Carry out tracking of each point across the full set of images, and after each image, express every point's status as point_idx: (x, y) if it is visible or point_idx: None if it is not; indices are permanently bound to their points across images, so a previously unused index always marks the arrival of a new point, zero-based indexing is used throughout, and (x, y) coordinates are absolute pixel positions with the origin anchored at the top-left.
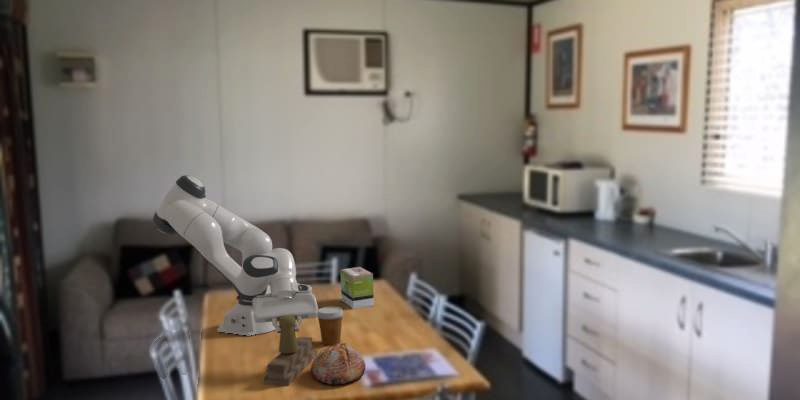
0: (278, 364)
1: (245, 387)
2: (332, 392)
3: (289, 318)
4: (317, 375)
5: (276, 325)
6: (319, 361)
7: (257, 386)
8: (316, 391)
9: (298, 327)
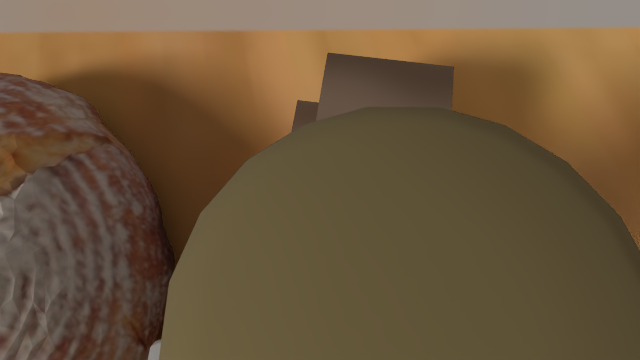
0: (371, 75)
1: (542, 95)
2: (57, 42)
3: (299, 158)
4: (118, 140)
5: None
6: (60, 152)
7: (478, 108)
8: (139, 52)
9: (159, 348)
